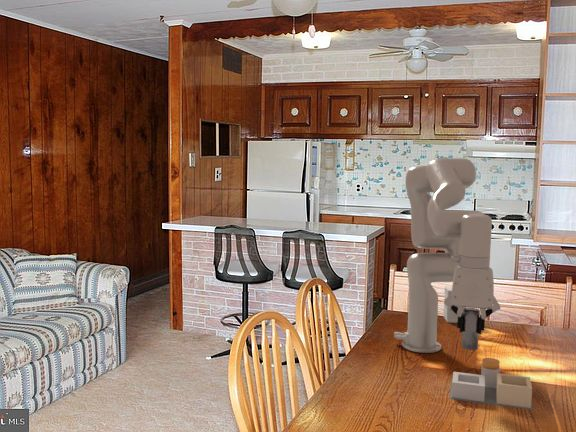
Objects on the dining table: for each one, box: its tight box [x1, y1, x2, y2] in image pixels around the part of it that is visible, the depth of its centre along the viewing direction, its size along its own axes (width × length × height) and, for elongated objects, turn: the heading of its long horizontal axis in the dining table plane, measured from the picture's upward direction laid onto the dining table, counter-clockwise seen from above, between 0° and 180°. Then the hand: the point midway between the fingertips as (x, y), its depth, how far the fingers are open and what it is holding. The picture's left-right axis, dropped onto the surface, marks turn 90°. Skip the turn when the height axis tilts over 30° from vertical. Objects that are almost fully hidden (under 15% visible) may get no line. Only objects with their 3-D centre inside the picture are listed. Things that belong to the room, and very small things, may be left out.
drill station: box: [448, 365, 534, 411], centre depth 156 cm, size 20×16×6 cm
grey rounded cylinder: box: [461, 307, 481, 351], centre depth 153 cm, size 4×4×10 cm
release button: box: [481, 357, 500, 369], centre depth 161 cm, size 4×4×6 cm
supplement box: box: [443, 286, 467, 324], centre depth 229 cm, size 7×7×13 cm
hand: (470, 331), depth 153 cm, fingers closed on grey rounded cylinder, 4 cm apart
